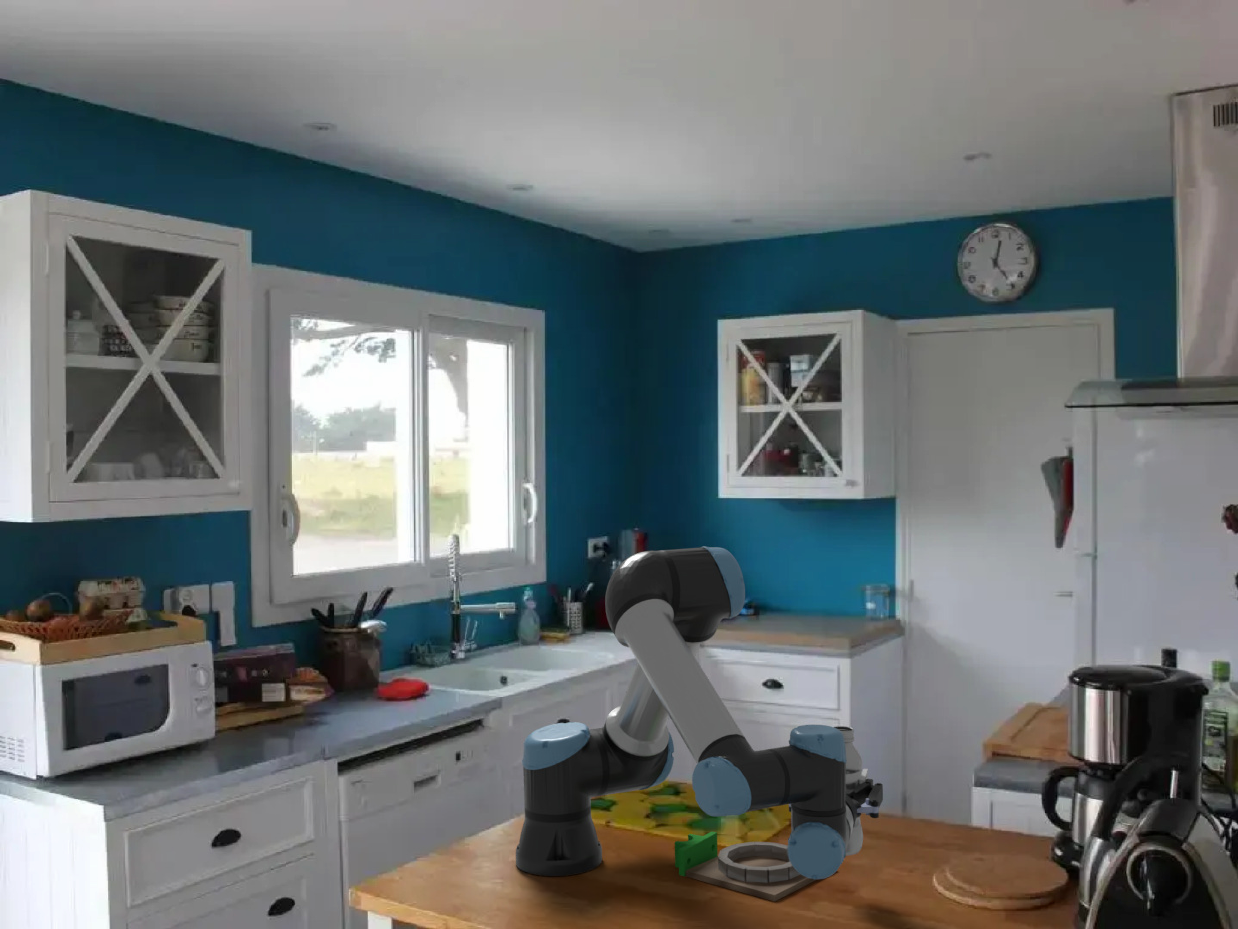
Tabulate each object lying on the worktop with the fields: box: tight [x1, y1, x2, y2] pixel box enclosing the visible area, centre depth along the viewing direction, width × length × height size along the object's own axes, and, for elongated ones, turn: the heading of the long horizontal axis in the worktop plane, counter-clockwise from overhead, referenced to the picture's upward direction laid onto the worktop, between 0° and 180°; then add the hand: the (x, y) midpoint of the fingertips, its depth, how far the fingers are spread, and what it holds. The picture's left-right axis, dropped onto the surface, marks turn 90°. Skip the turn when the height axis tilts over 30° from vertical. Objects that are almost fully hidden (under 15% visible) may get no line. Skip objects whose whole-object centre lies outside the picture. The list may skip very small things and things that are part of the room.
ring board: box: [685, 841, 818, 902], centre depth 203 cm, size 18×18×3 cm
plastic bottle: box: [833, 725, 864, 856], centre depth 192 cm, size 6×7×20 cm
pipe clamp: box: [674, 831, 719, 877], centre depth 209 cm, size 11×4×5 cm, turn 146°
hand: (845, 776), depth 197 cm, fingers closed on plastic bottle, 6 cm apart
